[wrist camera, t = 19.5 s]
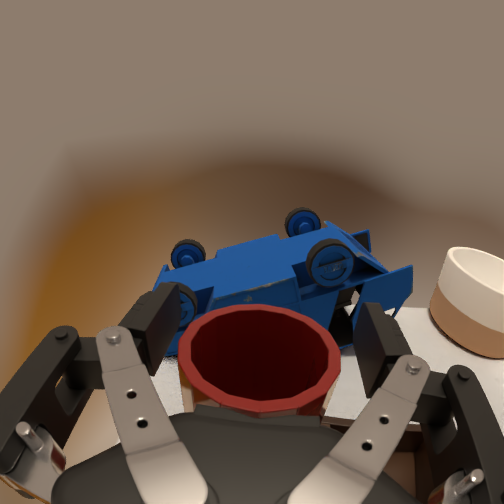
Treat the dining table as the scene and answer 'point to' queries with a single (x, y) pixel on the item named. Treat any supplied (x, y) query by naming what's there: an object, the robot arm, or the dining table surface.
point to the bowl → (471, 300)
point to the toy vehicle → (288, 276)
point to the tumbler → (258, 362)
